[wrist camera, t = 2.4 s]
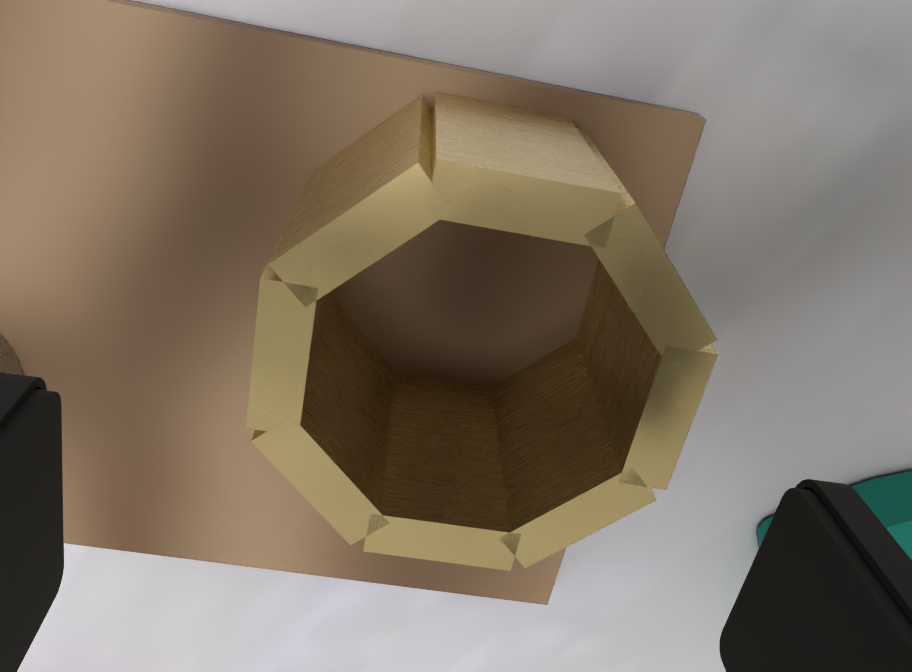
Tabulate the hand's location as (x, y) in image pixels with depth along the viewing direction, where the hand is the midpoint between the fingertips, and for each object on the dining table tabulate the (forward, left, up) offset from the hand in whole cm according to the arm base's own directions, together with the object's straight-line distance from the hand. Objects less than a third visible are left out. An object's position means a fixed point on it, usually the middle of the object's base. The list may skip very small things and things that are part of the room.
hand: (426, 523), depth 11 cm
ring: (-1, 0, -8) cm, 8 cm away
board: (+5, +2, -9) cm, 10 cm away
